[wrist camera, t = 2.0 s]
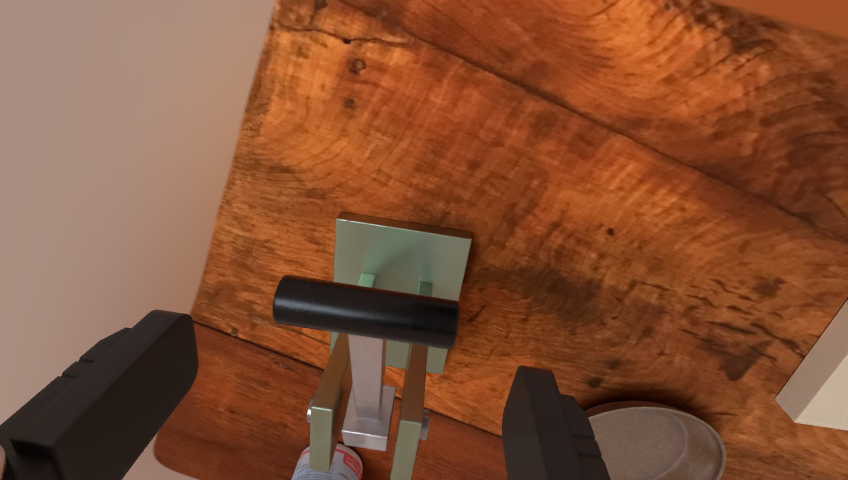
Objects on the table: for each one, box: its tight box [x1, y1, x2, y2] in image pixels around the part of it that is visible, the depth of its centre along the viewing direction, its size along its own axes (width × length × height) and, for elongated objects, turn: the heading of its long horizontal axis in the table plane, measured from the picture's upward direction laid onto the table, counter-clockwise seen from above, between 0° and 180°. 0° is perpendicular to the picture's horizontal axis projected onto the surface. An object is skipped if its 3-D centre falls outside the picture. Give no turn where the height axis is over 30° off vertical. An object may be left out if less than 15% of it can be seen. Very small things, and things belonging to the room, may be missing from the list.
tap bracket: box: [307, 212, 472, 480], centre depth 25 cm, size 12×9×13 cm
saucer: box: [584, 401, 726, 480], centre depth 35 cm, size 15×15×3 cm
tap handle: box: [273, 275, 459, 451], centre depth 17 cm, size 13×5×2 cm, turn 172°
